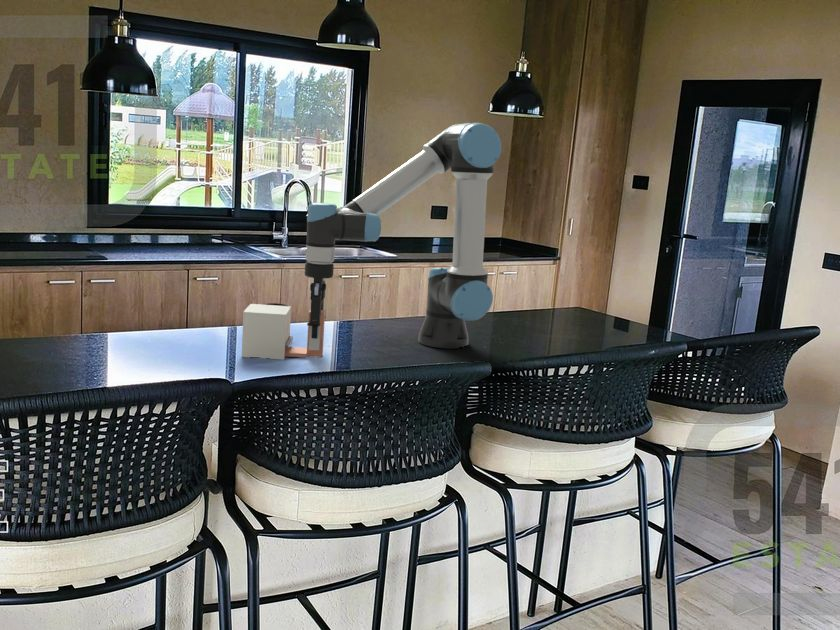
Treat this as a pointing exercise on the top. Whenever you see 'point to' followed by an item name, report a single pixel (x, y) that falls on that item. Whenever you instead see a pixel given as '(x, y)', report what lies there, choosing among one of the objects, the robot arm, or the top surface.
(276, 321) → the off-white block
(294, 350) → the orange l-shaped bracket
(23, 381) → the top surface
